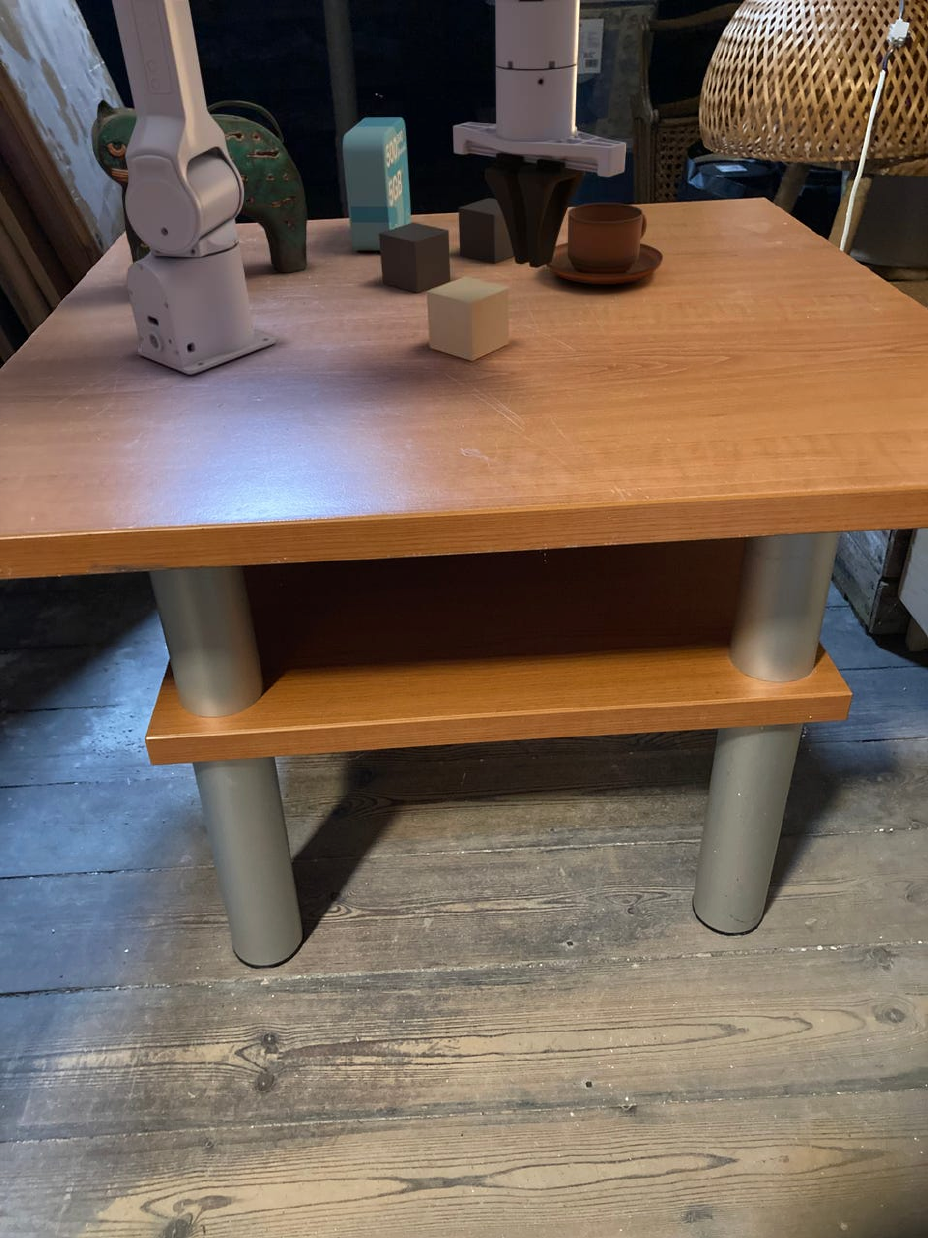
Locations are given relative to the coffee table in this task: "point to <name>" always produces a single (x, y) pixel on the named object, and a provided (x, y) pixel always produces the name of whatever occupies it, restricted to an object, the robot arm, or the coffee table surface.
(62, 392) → the coffee table surface
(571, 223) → the cup and saucer
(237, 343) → the robot arm
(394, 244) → the middle block
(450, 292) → the cream block
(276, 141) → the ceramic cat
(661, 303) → the coffee table surface
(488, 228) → the far block
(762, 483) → the coffee table surface
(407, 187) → the data package
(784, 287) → the coffee table surface
